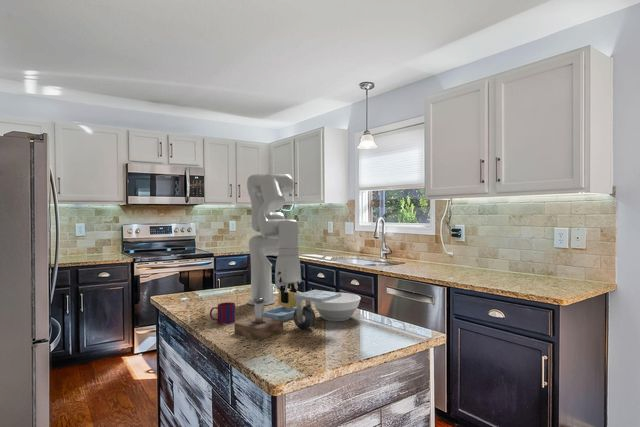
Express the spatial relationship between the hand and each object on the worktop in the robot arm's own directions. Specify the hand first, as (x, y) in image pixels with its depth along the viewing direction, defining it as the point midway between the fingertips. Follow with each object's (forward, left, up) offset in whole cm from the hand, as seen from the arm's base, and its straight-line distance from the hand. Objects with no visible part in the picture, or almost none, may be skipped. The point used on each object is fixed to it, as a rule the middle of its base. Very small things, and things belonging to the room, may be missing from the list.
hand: (288, 301), depth 152 cm
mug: (+12, -24, -9) cm, 28 cm away
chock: (0, -1, -2) cm, 2 cm away
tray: (-8, -11, -9) cm, 16 cm away
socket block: (+13, -3, -9) cm, 16 cm away
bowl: (-19, +8, -9) cm, 23 cm away
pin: (+13, -3, -9) cm, 16 cm away
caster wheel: (-1, +11, -9) cm, 14 cm away
